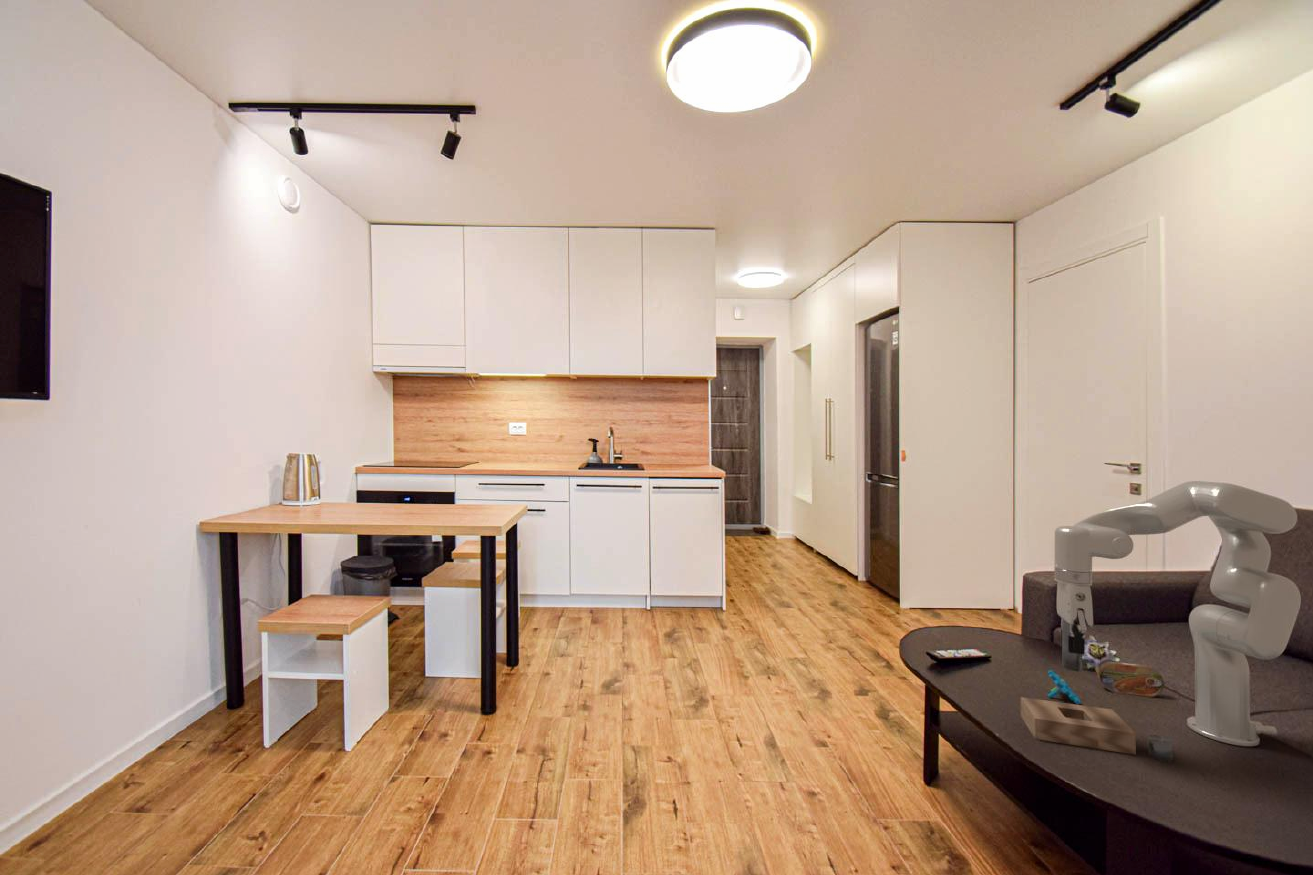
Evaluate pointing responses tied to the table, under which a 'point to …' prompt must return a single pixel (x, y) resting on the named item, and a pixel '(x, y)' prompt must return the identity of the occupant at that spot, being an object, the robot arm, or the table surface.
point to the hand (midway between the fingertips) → (1072, 648)
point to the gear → (1062, 688)
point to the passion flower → (1097, 654)
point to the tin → (1130, 679)
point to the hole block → (1078, 725)
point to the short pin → (1160, 748)
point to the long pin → (1068, 659)
